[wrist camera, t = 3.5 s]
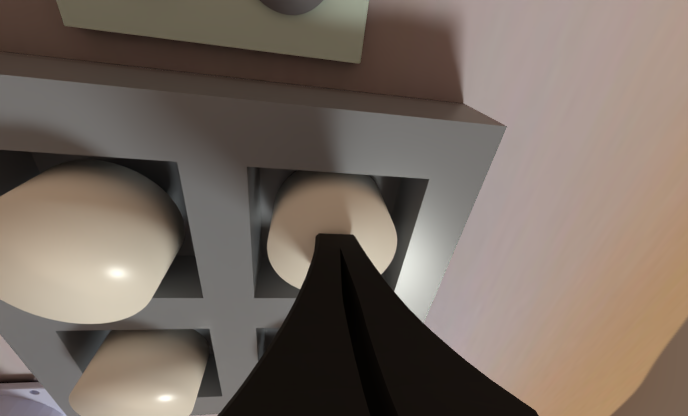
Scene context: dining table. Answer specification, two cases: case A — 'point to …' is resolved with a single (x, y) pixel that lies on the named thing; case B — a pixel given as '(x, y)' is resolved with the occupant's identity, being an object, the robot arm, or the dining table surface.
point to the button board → (233, 193)
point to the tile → (234, 23)
